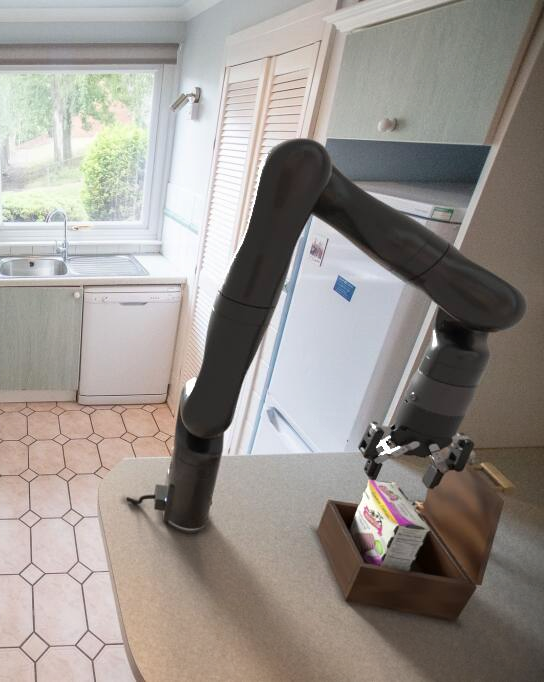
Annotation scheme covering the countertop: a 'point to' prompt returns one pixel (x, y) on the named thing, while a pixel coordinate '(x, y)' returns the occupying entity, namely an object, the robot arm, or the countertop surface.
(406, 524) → the candy bar box
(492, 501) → the lid
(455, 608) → the chest
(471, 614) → the countertop surface
